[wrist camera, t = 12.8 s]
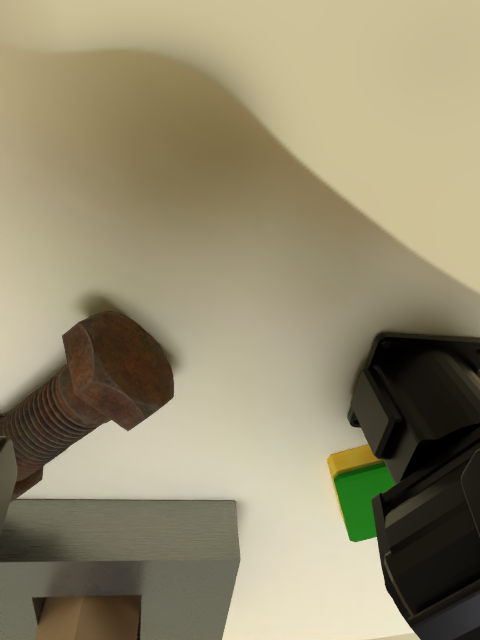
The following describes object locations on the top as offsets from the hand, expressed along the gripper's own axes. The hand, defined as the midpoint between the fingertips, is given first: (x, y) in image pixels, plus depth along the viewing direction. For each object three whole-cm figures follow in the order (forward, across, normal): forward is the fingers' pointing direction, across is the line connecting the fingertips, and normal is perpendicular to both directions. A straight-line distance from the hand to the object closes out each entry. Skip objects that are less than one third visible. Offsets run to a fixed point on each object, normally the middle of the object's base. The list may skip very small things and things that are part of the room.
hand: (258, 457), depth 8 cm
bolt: (+14, +9, +11) cm, 19 cm away
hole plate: (+13, +6, +26) cm, 30 cm away
